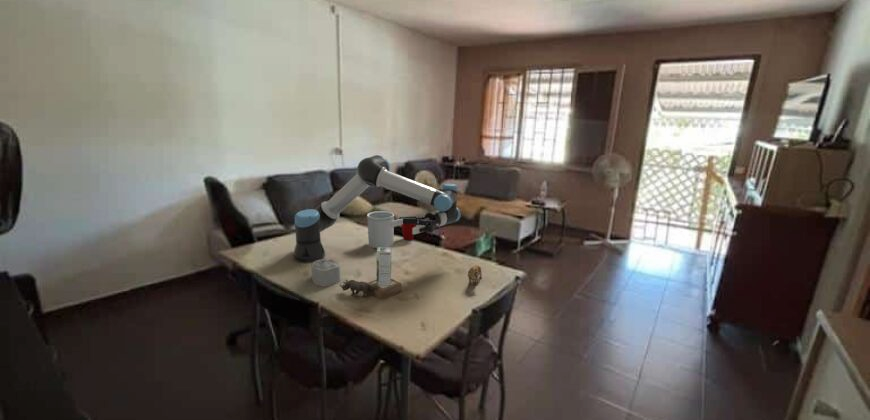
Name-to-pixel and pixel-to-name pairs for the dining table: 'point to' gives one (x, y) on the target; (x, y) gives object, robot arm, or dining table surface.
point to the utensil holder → (380, 229)
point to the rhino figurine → (357, 287)
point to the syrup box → (384, 266)
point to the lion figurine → (474, 274)
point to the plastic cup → (408, 231)
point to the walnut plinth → (384, 289)
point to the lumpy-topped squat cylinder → (325, 272)
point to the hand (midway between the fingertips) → (401, 227)
